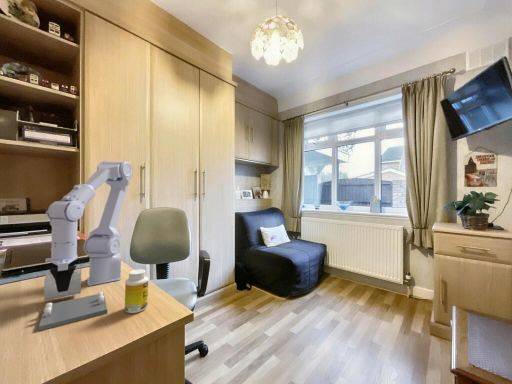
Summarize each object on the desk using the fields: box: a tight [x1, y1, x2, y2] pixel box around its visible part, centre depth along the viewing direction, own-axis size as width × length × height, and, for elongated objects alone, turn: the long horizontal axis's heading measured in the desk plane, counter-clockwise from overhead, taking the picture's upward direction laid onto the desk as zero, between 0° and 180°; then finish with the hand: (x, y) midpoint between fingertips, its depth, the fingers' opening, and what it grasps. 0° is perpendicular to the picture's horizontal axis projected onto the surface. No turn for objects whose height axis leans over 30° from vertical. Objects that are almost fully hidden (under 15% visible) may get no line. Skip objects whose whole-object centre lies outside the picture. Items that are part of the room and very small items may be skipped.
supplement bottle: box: [124, 268, 149, 314], centre depth 61 cm, size 6×6×10 cm
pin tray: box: [38, 291, 108, 332], centre depth 59 cm, size 13×12×3 cm
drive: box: [43, 269, 82, 302], centre depth 65 cm, size 8×4×6 cm, turn 128°
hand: (63, 288), depth 65 cm, fingers closed on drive, 4 cm apart
